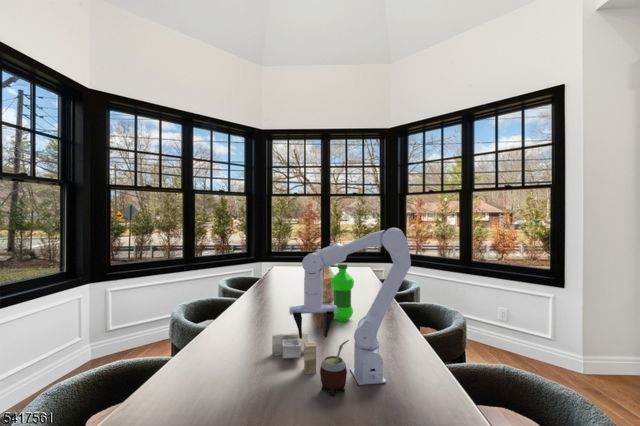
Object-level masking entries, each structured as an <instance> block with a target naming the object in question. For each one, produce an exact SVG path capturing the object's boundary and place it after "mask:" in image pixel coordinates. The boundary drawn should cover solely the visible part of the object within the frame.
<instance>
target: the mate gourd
mask: <svg viewBox="0 0 640 426" xmlns="http://www.w3.org/2000/svg"><path fill="white" fill-rule="evenodd" d="M349 341H350V340H349V339H347V340H345V341H343V342H342V343H341V344H340V345H339V346H338V350H337V351H338V352H337V355H329V356H326V357H324V358H323V360H322V361H321V363H320V369H319V375H320V382H321V390H322V391H328V392H330V397H331V398H333V397H334V396H335V392H336V393H338V392H339V393H345V392H346V388H345V387H346V384H347V383H346V382H347V374H348V373H347V371H348V369H347V364H346V362H345V360H344V359H343V358H342V357H340V355H341V351H342V349H343V347H344V345H345V344H347V343H348V342H349Z"/></svg>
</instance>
